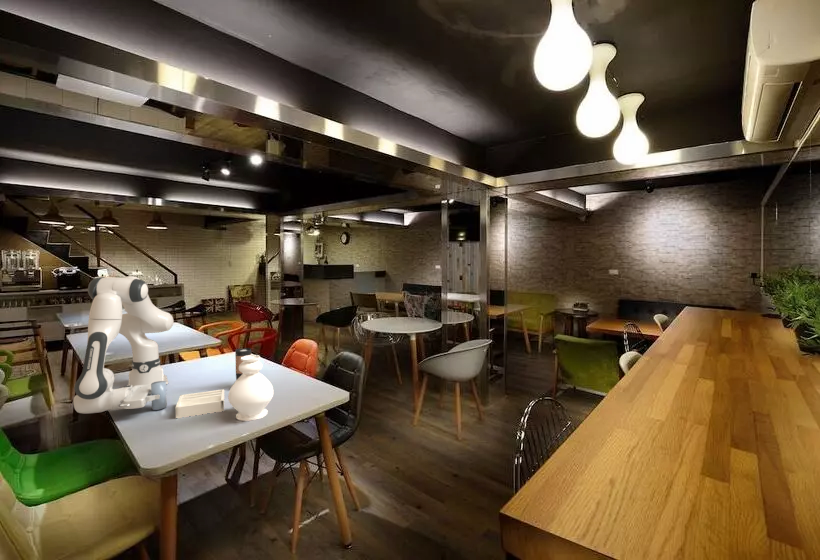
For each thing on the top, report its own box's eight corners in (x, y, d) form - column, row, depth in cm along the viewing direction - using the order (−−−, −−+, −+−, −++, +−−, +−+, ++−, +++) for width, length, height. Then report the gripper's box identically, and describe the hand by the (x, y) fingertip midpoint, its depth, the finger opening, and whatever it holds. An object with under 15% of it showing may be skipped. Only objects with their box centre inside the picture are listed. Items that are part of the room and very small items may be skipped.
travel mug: (246, 390, 191) (245, 351, 190) (232, 389, 193) (231, 351, 191) (255, 385, 198) (254, 348, 197) (242, 384, 200) (241, 347, 199)
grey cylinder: (153, 405, 170) (152, 381, 169) (167, 403, 172) (166, 380, 171) (150, 410, 165) (149, 385, 164) (165, 408, 167) (164, 384, 166)
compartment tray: (180, 405, 172) (180, 395, 172) (224, 398, 180) (224, 389, 180) (175, 418, 158) (175, 407, 158) (223, 411, 165) (223, 400, 165)
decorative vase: (228, 426, 150) (226, 365, 149) (229, 410, 167) (228, 354, 165) (275, 419, 157) (274, 360, 156) (272, 404, 174) (271, 350, 172)
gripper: (116, 399, 153) (156, 394, 159) (128, 383, 171) (164, 379, 177) (116, 414, 153) (157, 409, 159) (129, 397, 172) (165, 392, 178)
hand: (161, 393), depth 168 cm, fingers closed on grey cylinder, 5 cm apart
